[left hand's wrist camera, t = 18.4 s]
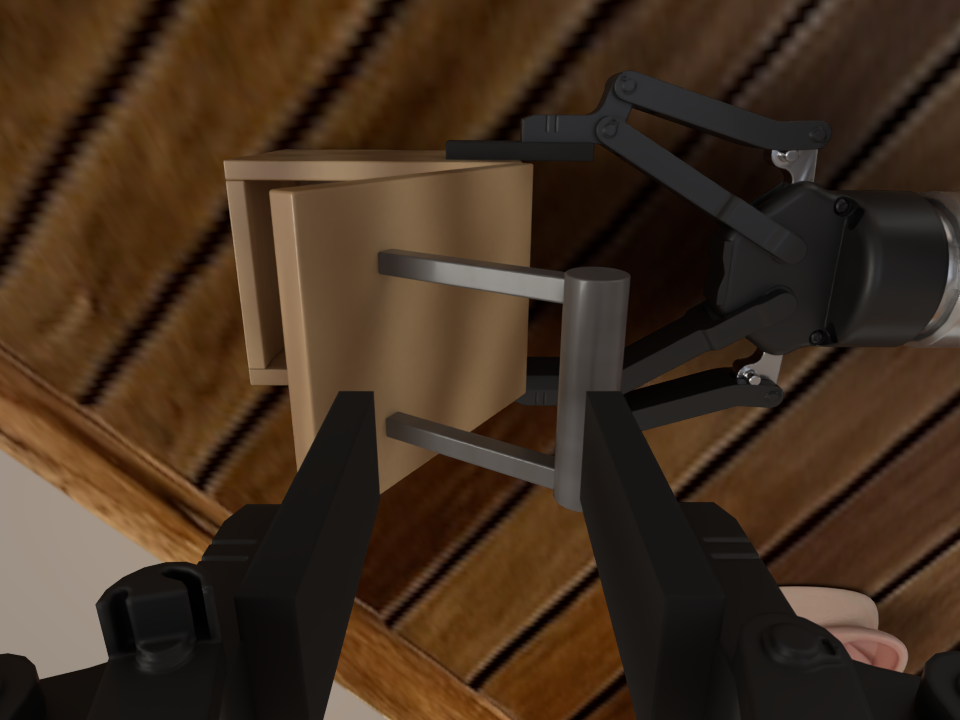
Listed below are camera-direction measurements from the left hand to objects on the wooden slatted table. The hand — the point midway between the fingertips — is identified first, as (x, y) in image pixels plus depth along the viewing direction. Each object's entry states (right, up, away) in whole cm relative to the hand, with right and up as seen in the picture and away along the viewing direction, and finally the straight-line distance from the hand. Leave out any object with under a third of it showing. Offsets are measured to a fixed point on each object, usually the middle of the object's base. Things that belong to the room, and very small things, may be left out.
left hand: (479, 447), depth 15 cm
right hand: (-2, +6, +17) cm, 19 cm away
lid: (-2, +3, +9) cm, 10 cm away
